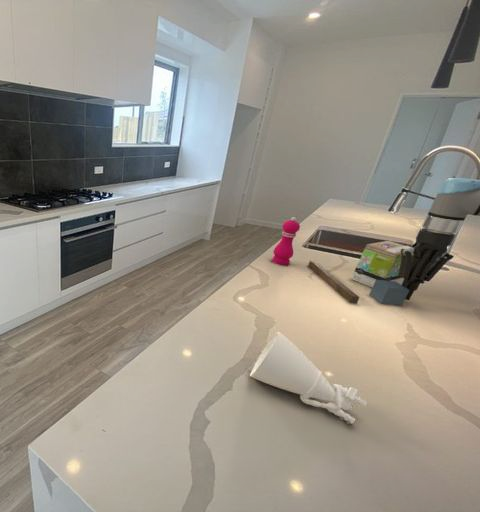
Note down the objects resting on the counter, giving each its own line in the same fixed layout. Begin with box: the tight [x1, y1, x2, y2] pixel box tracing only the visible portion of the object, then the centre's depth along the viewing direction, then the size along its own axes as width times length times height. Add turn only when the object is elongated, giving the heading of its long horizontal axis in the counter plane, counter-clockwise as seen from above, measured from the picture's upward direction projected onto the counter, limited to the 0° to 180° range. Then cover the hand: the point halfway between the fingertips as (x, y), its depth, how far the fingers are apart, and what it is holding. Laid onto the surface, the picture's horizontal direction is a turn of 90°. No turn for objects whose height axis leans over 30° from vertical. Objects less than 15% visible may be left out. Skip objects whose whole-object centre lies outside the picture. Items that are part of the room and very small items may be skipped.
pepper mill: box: [271, 216, 301, 266], centre depth 124 cm, size 7×7×20 cm
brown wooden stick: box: [307, 260, 360, 305], centre depth 111 cm, size 30×2×2 cm, turn 169°
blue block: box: [368, 280, 409, 307], centre depth 99 cm, size 6×6×6 cm
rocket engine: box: [249, 331, 368, 424], centre depth 61 cm, size 12×12×18 cm
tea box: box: [350, 240, 414, 289], centre depth 110 cm, size 15×10×15 cm
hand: (403, 297), depth 99 cm, fingers closed
